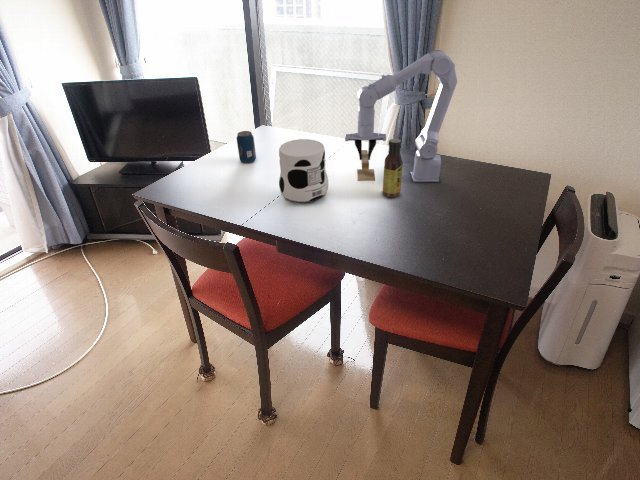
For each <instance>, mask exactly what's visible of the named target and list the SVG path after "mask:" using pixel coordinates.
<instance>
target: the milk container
mask: <svg viewBox="0 0 640 480" xmlns="http://www.w3.org/2000/svg"><path fill="white" fill-rule="evenodd" d="M278 156H279V168H280V173H279V178H278V179H279V180H278V186H279V190H280V193H281V195H282V197H283V198H285V199H286V200H288V201H290V202H293V203H299V204H300V203H301V204H302V203H305V204H306V203H313V202H316V201H318V200H320V199H322V198H323V197H325V195H326V194H327V192H328V188H329V178H328V174H327V169H326V150H325V146H324V144H323V143H322V142H320V141H319V140H315V139H309V138H299V139H292V140H289V141H285V142H284V143H282V144H281V145H280V146H279V149H278Z"/></svg>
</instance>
